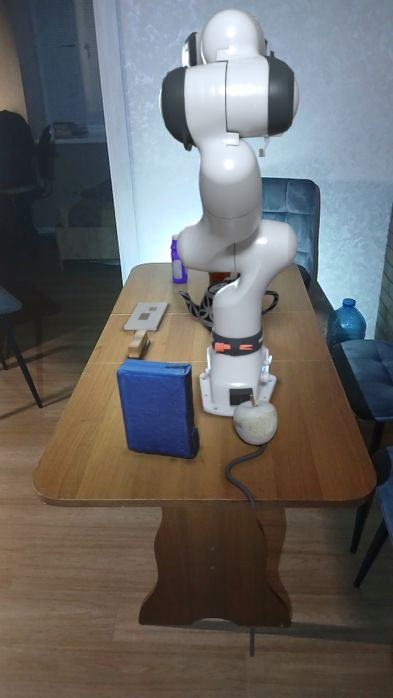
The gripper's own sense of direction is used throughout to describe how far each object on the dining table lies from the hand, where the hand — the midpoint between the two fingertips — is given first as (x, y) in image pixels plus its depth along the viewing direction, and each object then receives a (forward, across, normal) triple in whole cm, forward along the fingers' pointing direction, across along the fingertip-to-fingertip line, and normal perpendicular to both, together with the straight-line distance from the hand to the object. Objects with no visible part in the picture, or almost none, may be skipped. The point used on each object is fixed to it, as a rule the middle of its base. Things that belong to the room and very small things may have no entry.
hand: (243, 157), depth 128 cm
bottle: (+48, -26, +41) cm, 69 cm away
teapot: (+48, -5, +1) cm, 48 cm away
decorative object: (+48, +5, -54) cm, 72 cm away
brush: (+48, -28, -17) cm, 58 cm away
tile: (+48, -31, +7) cm, 58 cm away
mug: (+48, -8, +27) cm, 56 cm away
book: (+48, -13, -59) cm, 77 cm away
